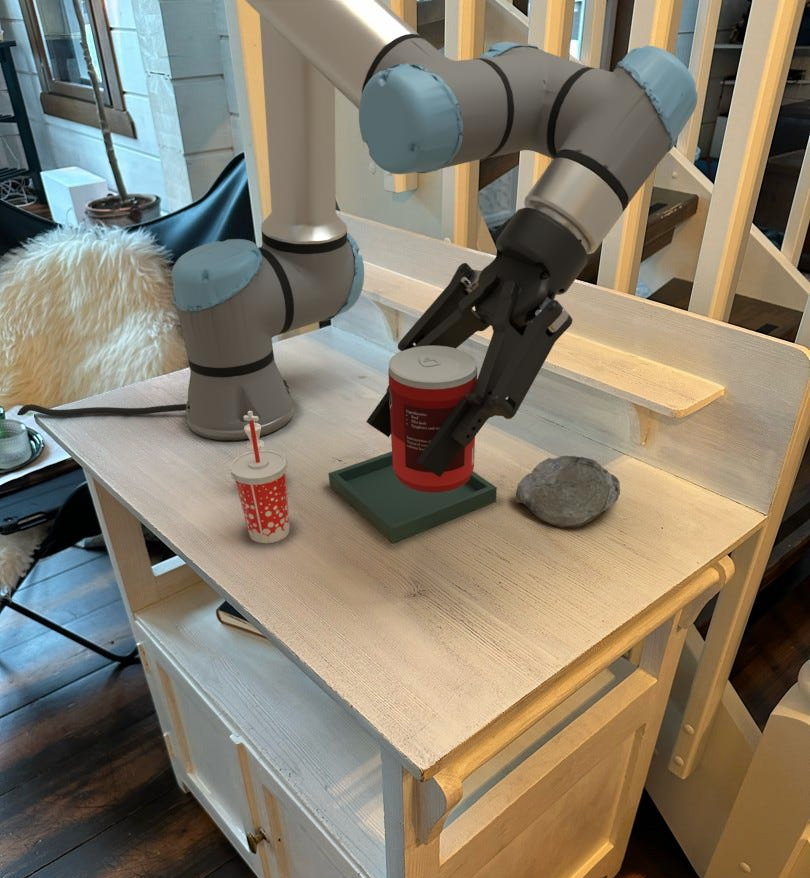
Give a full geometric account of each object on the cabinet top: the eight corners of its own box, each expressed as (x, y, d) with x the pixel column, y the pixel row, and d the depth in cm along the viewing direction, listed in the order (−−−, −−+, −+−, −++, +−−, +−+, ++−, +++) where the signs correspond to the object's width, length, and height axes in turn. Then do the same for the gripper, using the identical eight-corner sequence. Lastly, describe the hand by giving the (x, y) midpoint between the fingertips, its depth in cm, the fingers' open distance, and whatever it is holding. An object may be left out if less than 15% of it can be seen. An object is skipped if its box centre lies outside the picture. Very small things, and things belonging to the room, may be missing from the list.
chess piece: (273, 496, 92) (262, 422, 87) (235, 493, 93) (222, 419, 87) (286, 475, 96) (276, 403, 90) (250, 472, 97) (238, 401, 91)
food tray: (329, 486, 94) (328, 472, 93) (426, 452, 100) (426, 439, 99) (392, 543, 84) (392, 528, 83) (496, 501, 90) (497, 487, 89)
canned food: (438, 443, 76) (438, 337, 69) (491, 475, 71) (497, 365, 64) (375, 468, 72) (369, 359, 66) (427, 504, 67) (426, 390, 61)
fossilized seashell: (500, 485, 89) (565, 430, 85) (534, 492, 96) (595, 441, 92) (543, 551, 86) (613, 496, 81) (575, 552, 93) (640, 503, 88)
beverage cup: (303, 518, 88) (288, 409, 80) (286, 549, 83) (270, 437, 75) (253, 514, 89) (234, 406, 81) (234, 545, 84) (212, 433, 76)
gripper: (664, 289, 61) (494, 518, 63) (503, 233, 75) (371, 422, 78) (626, 230, 55) (442, 483, 58) (460, 182, 70) (320, 387, 73)
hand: (401, 448), depth 68 cm, fingers closed on canned food, 8 cm apart
